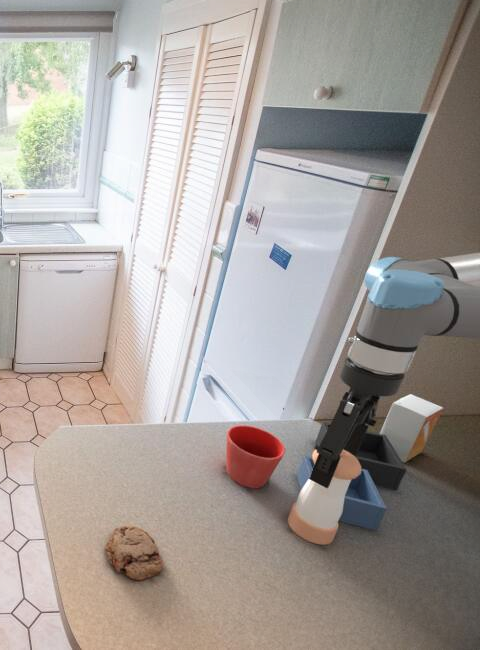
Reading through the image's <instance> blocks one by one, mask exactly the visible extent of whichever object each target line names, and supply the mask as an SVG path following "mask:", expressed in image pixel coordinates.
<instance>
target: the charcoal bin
mask: <svg viewBox="0 0 480 650" xmlns="http://www.w3.org/2000/svg"><path fill="white" fill-rule="evenodd" d="M330 424H331V423H330V422H329V423H328V422H324V421H322V423H321V426H320V428H319V431H318V433H317V436H316V439H315V443H316V444H315V445H317V446H320V444H321V442H322V440H323V438H324V436H325V434H326V432H327V430H328V428H329V426H330ZM355 457H356V458H357V459H358V461H359V463H360V465H361V469H365V470H368V472H369V474H370V476H371V478H372V480H373V482H374V484H375V486H376V487H381V488H383V489H384V488H385V489H389V490H392V491H398V489H399V486H400V485H401V482H402V481H403V478H404V476H405V475H406V472H407V467H406V466H405V464H404V462H402V461H401V459H400V458H399V456H398V454H397V453H396V451H395V449H394V448H393V446H392V445H391V443H390V441H389V440H388V438H387V436H386V435H383V434H380V433H377V432H373V431H368V430H367V431H366V434H365V436H364V438H363V441H362V443H361V445H360V448H359V450H358V452H357V455H356V456H355Z"/></svg>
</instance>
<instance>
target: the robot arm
mask: <svg viewBox="0 0 480 650" xmlns="http://www.w3.org/2000/svg"><path fill="white" fill-rule="evenodd" d="M364 285H365V287H366V290H368V291H369V293H368V295H367V299H366V302H365V305H364V307H363V311H362V314H361V316H360V319H359V322H358V324H357V327H356V330H355V333H354V334H355V335H354V336H350V337H348V339H347V341H348V343H350V344H351V345H350V347H349V349H348V352H347V357H346V358H345V359H344V362H343V364H342V366H341V370H340V372H339V378H340V381H341V382H342V383H343V384H345V385H346V386H348V387H349V390H348V391H346V392H345V393H344V394H343V396H342V397H341V400H340V401H339V405H338V408H337V410H336V412H335V414H334V417H333V418H332V420H331V422H330V423H329V424H330V426H329V428H328V430H327V432H326V434H325V436H324V438H323V440H322V442H321V444H320V446H317V444H315V445H314V450H317V453H319V455H318V457H317V460H316V462H315V465H314V467H313V470H312V473H311V475H310V478H309V479H310V480H312V481H314V482H316V483H318V484H319V485H321V486H323V487H325V488H328V487H329V485H330V483H331V480H332V478H333V475H334V473H335V471H336V468H337V466H338V463H339V461H340V458H341V456H340V454H341V452H342V450H345V451H347V452H349V453H351V454H352V455H354V456H356V455H357V452H358V450H359V448H360V445H361V443H362V441H363V438H364V436H365V434H366V431H368V429H369V426H370V427H373V428H374V427H375V426H376V424H377V420H375V419H373V418H375V417H376V415H377V411H378V407H379V403H380V400H381V397H392V396H395V395H396V394H398V392H399V390H400V388H401V385H402V383H403V381H404V379H405V373H407V372H408V371H409V369H410V366H411V364H412V362H413V359H414V357H415V355H416V353H417V351H418V347H419V345H420V343H421V341H422V340H423V337H424V336H431V337H437V336H438V337H452V338H469V339H477V340H480V252H474V253H473V252H472V253H467V254H466V253H465V254H460V255H459V254H458V255H454V256H446V257H440V258H433V259H426V260H418V261H411V260H409V259H407V258H403V257H397V256H387V257H383V258H381V259H378V260H377V261H375V262H374V263H372V264H371V265H370V266H369V267H368V269H367V270H366V272H365V274H364Z"/></svg>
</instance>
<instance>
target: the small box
mask: <svg viewBox="0 0 480 650" xmlns="http://www.w3.org/2000/svg"><path fill="white" fill-rule="evenodd" d="M443 410H444V406H440V405H438V404H436V403H433V402H431V401H429V400H426V399H424V398H422V397H419V396H417V395H414V394H411V393H409V394H408V395H405V396H403V397H401V398H399V399H397V400H395V401H394V402H393V403H392V405H391V406H390V409H389V411H388V413H387V416H386V417H385V420H384V423H383V424H382V427H381V430H380V432H379V434H383V435H386V436H387V438H388V440H389V441H390V443H391V445H392V446H393V448H394V449H395V451H396V453H397V454H398V456H399V458H400V459H401V461H402V463H403V464H404V463H407V462H408V461H409V460H411V459H413V458H414V457H416V456H418V455H419V454H421V453H422V452H423V451H424V448H425V446H426V444H427V442H428V440H429V438H430V436H431V434H432V432H433V431H434V428H435V426H436V424H437V422H438V420H439V419H440V417H441V414H442V412H443Z"/></svg>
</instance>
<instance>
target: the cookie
mask: <svg viewBox="0 0 480 650" xmlns="http://www.w3.org/2000/svg"><path fill="white" fill-rule="evenodd" d="M108 540H109V541H108V542H106V543H105V545H104V551H105V555H106V557H107V560H108V562H109V563H110V565H111V566H112V567H113V568H114V569H115V571H116V572H117V573H118V574H123V575H126V576H127V578H130V579H132V580H136V581H143V580H146V579H150V578H152V577H153V576H157V575H158V574H159V573H160V572H161V571H163V570H162V569H163V566H164V561H163V560H162V557H161V555H160V553H159V548H158V546H157V544H156V542H155V540H154V538H153V537H152V535H151V534H150V533H149V532H147V531H146V530H144V529H142V528H140V527H137V526H134V525H122V526H121V527H120V528H118V527H116V528H115V529H114V530H113V536H111V537H110V538H109V539H108Z"/></svg>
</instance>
